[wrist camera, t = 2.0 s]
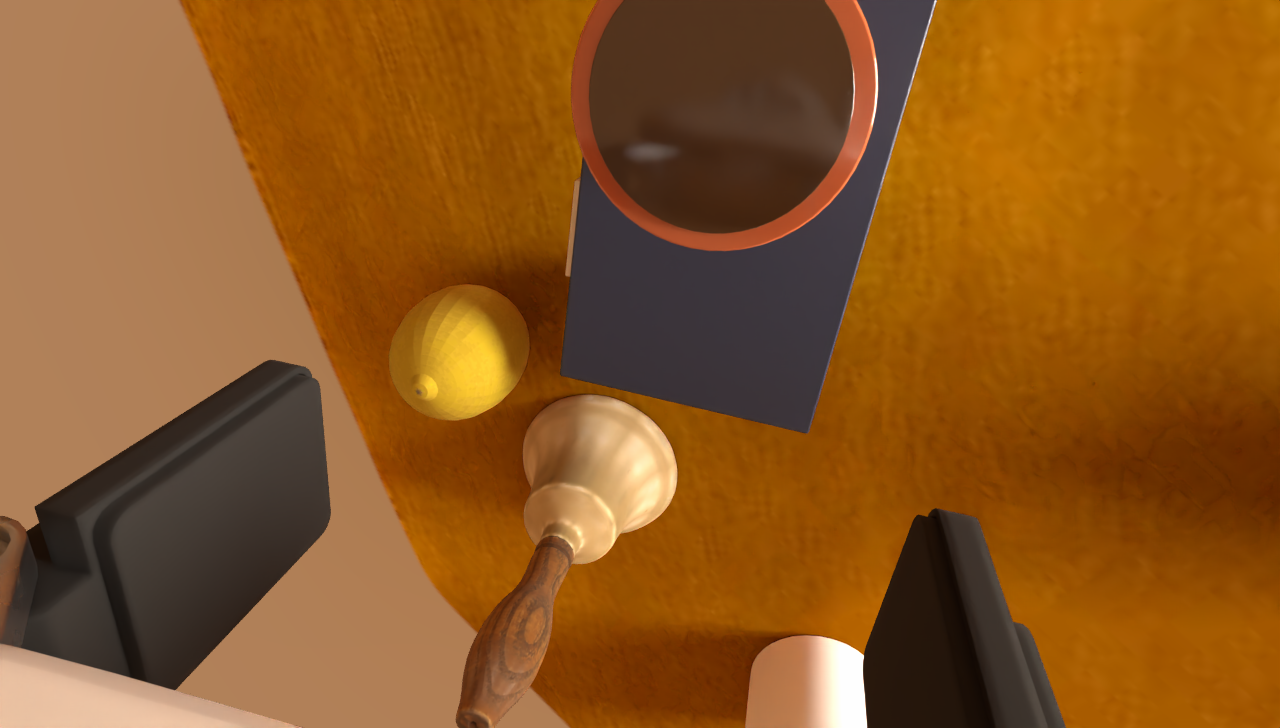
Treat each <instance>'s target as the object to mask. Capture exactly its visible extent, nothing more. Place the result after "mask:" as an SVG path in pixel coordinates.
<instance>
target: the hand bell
mask: <svg viewBox="0 0 1280 728" xmlns="http://www.w3.org/2000/svg"><path fill="white" fill-rule="evenodd" d="M523 463H524V469H525V473H526V477H527V480H528V482H529V484H530V486H531V488H532V489H531V492H530V494H529V497H528V499H527V501H526V504H525V508H524V523H525V527H526V530H527V533H528V535H529V536H530V538H531V539H532V541H533V542H534V544H535V545H536V549H535V552H534V554H533V556H532V558H531V560H530V563H529V565H528V567H527V570H526V572H525V574H524V576H523V578H522V580H521V582H520V583H519V584H518V586H517V587H516V588H515V589H514V590H513V591H512V592H511V593H509V594H508V595H507V596H506V597H505V598H504V599H503V600H502V601H501V602H500V603H499V604H498V605H497V606H496V607H495V609H494V610H493V611H492V612H491V614H490V615H489V616H488V618H487V619H486V621H485V622H484V624H483V625H482V627H481V629H480V630H479V632H478V634H477V636H476V638H475V640H474V642H473V644H472V646H471V649H470V652H469V654H468V657H467V661H466V665H465V670H464V675H463V682H462V692H461V699H460V704H459V707H458V711H457V714H456V723H457V726H458V727H459V728H494V727H495V725H496V724H497V723H498V722H499V721H500V719H501V718H502V717H503V716H504V715H505V714H506V713H507V712H508V711H509V710H510V709H511V708H512V706H514V705H515V704H516V702H518V700H519V699H520V698H521V697H522V696H523V695H524V693H525V692H526V691H527V689H528V688H529V687H530V685H531V684H532V682H533V680H534V678H535V677H536V675H537V672H538V670H539V668H540V666H541V663H542V661H543V658H544V656H545V653H546V650H547V647H548V643H549V639H550V635H551V629H552V616H553V603H554V599H555V597H556V594H557V592H558V590H559V588H560V586H561V584H562V582H563V580H564V578H565V576H566V574H567V571H568V569H569V568H570V567H571V565H572V564H584V563H589V562H593V561H595V560H597V559H599V558H601V557H602V556H603V555H605V554H606V553H607V552H608V551H609V550H610V548H611V547H612V546H613V544H614V542H615V540H616V539H617V537H618V536H619V534H620V533H625V532H630V531H633V530H636V529H638V528H641V527H643V526H645V525H647V524H649V523H650V522H652V521H653V520H655V519H656V518H657V517H658V516H660V515H661V514H662V513H663V511H664V510H665V509H666V508H667V507H668V505H669V504H670V502H671V500H672V497H673V495H674V493H675V489H676V484H677V465H676V460H675V456H674V453H673V450H672V447H671V445H670V443H669V441H668V440H667V438H666V437H665V435H664V433H663V432H662V431H661V430H660V428H659V427H658V426H657V425H656V424H655V423H654V422H653V421H652V420H651V419H650V418H649V417H648V416H646V415H645V414H644V413H642V412H641V411H639V410H637V409H636V408H634V407H633V406H631V405H629V404H627V403H625V402H622V401H619V400H617V399H615V398H611V397H608V396H599V395H577V396H570V397H566V398H563V399H560V400H558V401H556V402H554V403H552V404H550V405H549V406H547V407H546V408H544V409H543V410H542V411H541V412H540V413H539V414H538V415H537V416H536V417H535V418H534V420H533V421H532V423H531V424H530V426H529V428H528V429H527V432H526V435H525V439H524V443H523Z"/></svg>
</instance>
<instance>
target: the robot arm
mask: <svg viewBox="0 0 1280 728" xmlns="http://www.w3.org/2000/svg"><path fill="white" fill-rule="evenodd" d="M35 510H36V513H37V517H38V520H39V524H37V525H35V526H34V527H33V528H31V529H29V530H28V531H26V529H25V528H24V527H23V526H22V525H21V524H20V523H19V522H18V521H16V520H13V519H10V518H8V517H5V516H0V728H303V727H299V726H296V725H292V724H289V723H285V722H282V721H279V720H275V719H271V718H268V717H265V716H261V715H258V714H254V713H251V712H247V711H244V710H241V709H237V708H234V707H230V706H227V705H223V704H220V703H216V702H213V701H209V700H206V699H202V698H199V697H195V696H192V695H188V694H185V693H182V692H178V691H175V690H176V689H177V688H178V687H179V686H180V684H181V683H182V682H183V681H184V680H185V679H186V678H187V677H188V676H189V675H190V674H191V673H192V672H193V671H194V669H196V668H197V667H198V665H199V664H200V663H201V662H202V661H203V660H204V659H205V658H206V657H207V656H208V655H209V654H210V653H211V652H212V651H213V650H214V649H215V647H216V646H217V645H218V644H219V643H220V642H221V641H222V640H223V639H224V638H225V637H226V636H227V635H228V634H229V633H230V631H232V629H233V628H234V627H235V626H236V625H237V624H238V623H239V622H240V621H241V620H242V619H243V618H244V617H245V616H246V615H247V614H248V613H249V611H250V610H251V609H252V608H253V607H254V606H255V605H256V604H257V603H258V602H259V601H260V600H261V599H262V598H263V596H265V594H266V593H267V592H268V591H269V590H270V589H271V588H272V587H273V586H274V585H275V584H276V583H277V582H278V581H279V580H280V578H281V577H282V576H283V575H284V574H285V573H286V572H287V571H288V570H289V569H290V568H291V567H292V566H293V565H294V564H295V563H296V562H297V561H298V560H299V558H300V557H301V556H302V555H303V554H304V553H305V552H306V551H307V550H308V549H309V548H310V547H311V546H312V545H313V544H314V542H315V541H316V540H317V539H318V538H319V537H320V536H321V535H322V534H323V533H324V531H325V529H326V528H327V526H328V523H329V520H330V514H331V509H330V498H329V486H328V474H327V462H326V451H325V440H324V428H323V416H322V405H321V393H320V386H319V383H318V381H317V380H316V379H314V378H312V374H311V372H310V371H309V369H307V368H306V367H302V366H298V365H294V364H289V363H285V362H280V361H276V360H268V361H266V362H264V363H262V364H261V365H259V366H257V367H256V368H254V369H252V370H251V371H249V372H248V373H246V374H244V375H243V376H241V377H240V378H238V379H237V380H235V381H234V382H232V383H230V384H229V385H227V386H225V387H224V388H222V389H221V390H219V391H218V392H216V393H214V394H213V395H211V396H210V397H208V398H207V399H205V400H204V401H202V402H200V403H199V404H197V405H196V406H194V407H192V408H191V409H189V410H187V411H186V412H184V413H183V414H181V415H179V416H178V417H177V418H175V419H173V420H172V421H170V422H168V423H167V424H165V425H164V426H162V427H161V428H159V429H158V430H156V431H154V432H153V433H151V434H149V435H148V436H146V437H145V438H143V439H142V440H140V441H138V442H137V443H135V444H133V445H132V446H130V447H129V448H127V449H126V450H124V451H122V452H121V453H119V454H118V455H116V456H115V457H113V458H111V459H110V460H108V461H107V462H105V463H103V464H102V465H100V466H99V467H97V468H96V469H94V470H92V471H91V472H89V473H88V474H86V475H84V476H83V477H81V478H80V479H78V480H77V481H75V482H73V483H72V484H70V485H69V486H67V487H65V488H64V489H62V490H61V491H59V492H57V493H56V494H54V495H53V496H51V497H49V498H48V499H46V500H45V501H43V502H42V503H40V504H38V505H37V506H35ZM863 684H864V697H865V709H866V721H867V728H1066V727H1065V724H1064V721H1063V718H1062V716H1061V713H1060V710H1059V707H1058V705H1057V702H1056V699H1055V696H1054V693H1053V691H1052V688H1051V685H1050V682H1049V680H1048V677H1047V674H1046V671H1045V669H1044V666H1043V663H1042V660H1041V658H1040V655H1039V652H1038V649H1037V646H1036V644H1035V641H1034V638H1033V636H1032V635H1031V633H1030V631H1029V629H1028V628H1027V627H1025V626H1024V625H1023V624H1019V623H1015V622H1013V621H1012V618H1011V616H1010V613H1009V610H1008V607H1007V604H1006V601H1005V598H1004V595H1003V592H1002V589H1001V586H1000V583H999V580H998V577H997V574H996V571H995V568H994V565H993V562H992V559H991V556H990V553H989V550H988V547H987V544H986V541H985V538H984V535H983V532H982V529H981V526H980V523H979V521H978V520H977V518H975V517H972V516H968V515H964V514H959V513H955V512H950V511H946V510H941V509H937V508H935V509H932V511H931V512H930V513H929V515H928V517H926V516H922V515H917V516H916V517H915V518H914V520H913V523H912V525H911V528H910V530H909V533H908V536H907V538H906V541H905V544H904V546H903V549H902V552H901V554H900V557H899V560H898V562H897V565H896V568H895V570H894V573H893V576H892V578H891V581H890V584H889V586H888V589H887V592H886V594H885V597H884V600H883V602H882V605H881V608H880V610H879V613H878V616H877V618H876V621H875V624H874V626H873V629H872V632H871V634H870V637H869V640H868V642H867V645H866V648H865V652H864V658H863Z"/></svg>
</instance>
